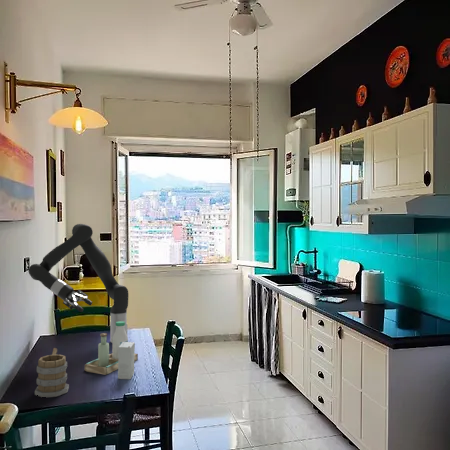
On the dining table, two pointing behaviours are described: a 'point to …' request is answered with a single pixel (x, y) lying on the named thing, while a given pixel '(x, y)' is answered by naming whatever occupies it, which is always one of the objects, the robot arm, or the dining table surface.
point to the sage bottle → (103, 351)
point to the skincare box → (126, 360)
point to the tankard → (52, 375)
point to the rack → (106, 370)
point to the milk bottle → (118, 338)
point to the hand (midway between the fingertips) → (87, 307)
